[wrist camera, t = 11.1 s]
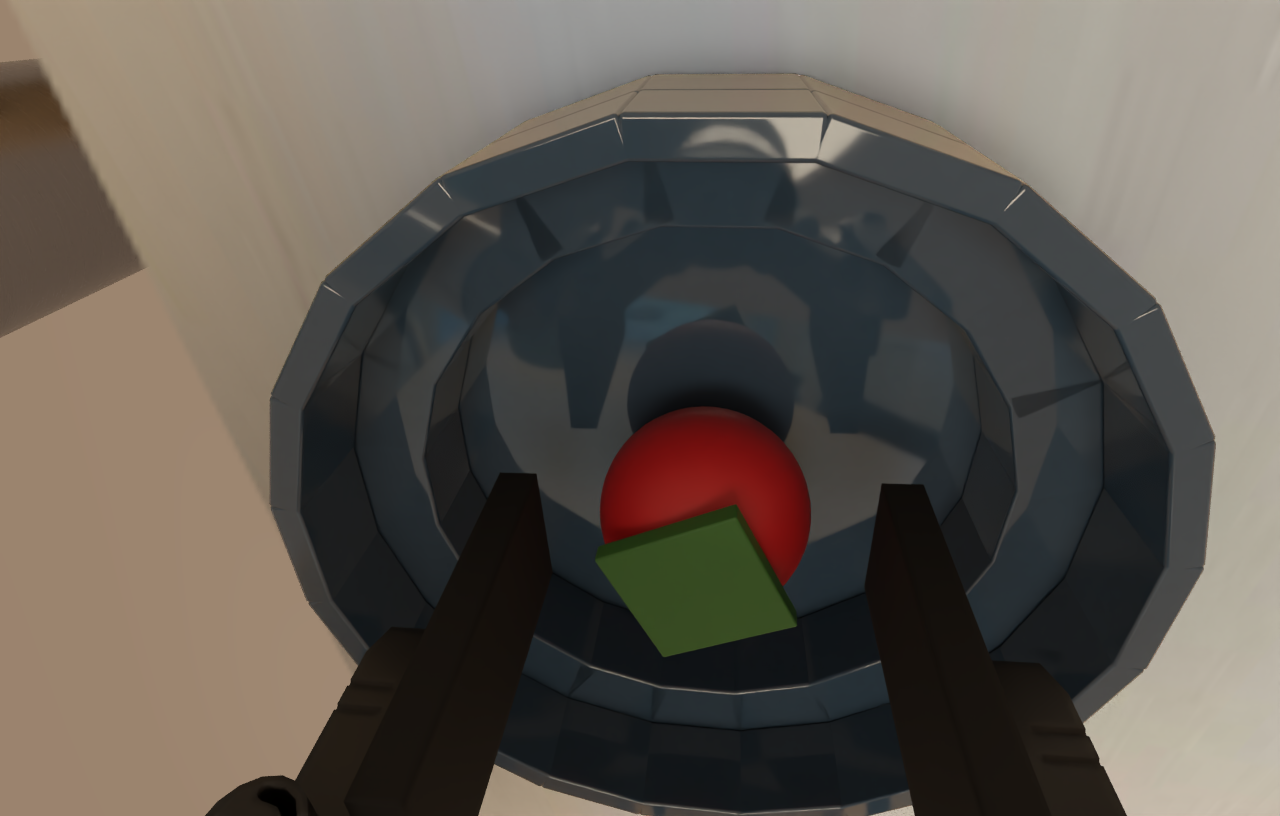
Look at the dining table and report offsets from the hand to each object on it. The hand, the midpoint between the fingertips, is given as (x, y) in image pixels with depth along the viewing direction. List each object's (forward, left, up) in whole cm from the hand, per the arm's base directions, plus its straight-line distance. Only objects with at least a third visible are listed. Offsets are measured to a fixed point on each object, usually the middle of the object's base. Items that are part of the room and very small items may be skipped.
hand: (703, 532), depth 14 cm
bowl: (0, 0, -3) cm, 3 cm away
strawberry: (0, 0, -3) cm, 3 cm away
